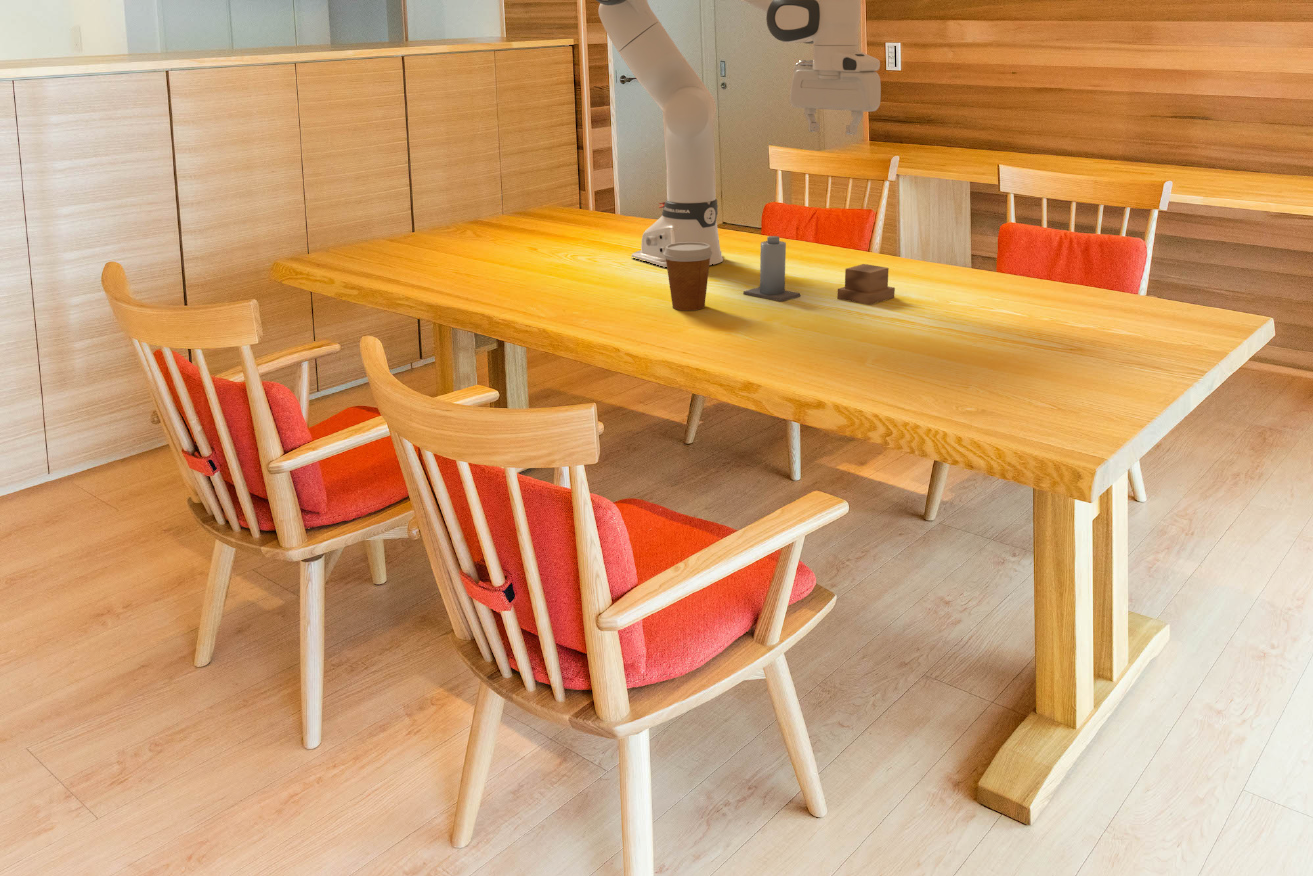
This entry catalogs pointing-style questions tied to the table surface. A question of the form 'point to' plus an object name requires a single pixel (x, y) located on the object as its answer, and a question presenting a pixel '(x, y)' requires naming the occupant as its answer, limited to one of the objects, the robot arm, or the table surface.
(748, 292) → the mat
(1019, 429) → the table surface
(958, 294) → the table surface
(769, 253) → the gray bottle
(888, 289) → the brown stepped pedestal
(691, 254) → the disposable coffee cup
